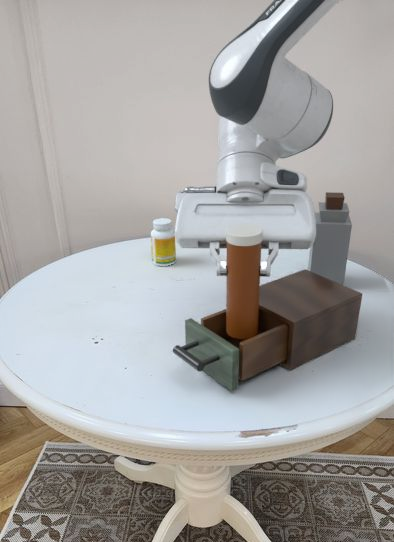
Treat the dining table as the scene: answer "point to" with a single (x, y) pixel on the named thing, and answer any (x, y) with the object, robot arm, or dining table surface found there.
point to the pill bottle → (243, 280)
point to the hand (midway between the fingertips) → (243, 275)
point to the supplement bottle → (163, 242)
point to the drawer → (233, 348)
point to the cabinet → (311, 314)
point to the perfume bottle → (331, 239)
